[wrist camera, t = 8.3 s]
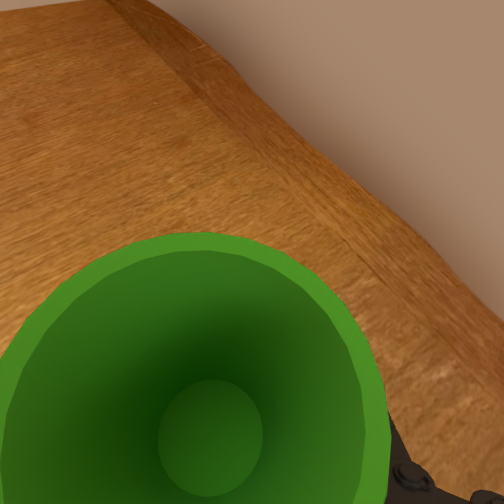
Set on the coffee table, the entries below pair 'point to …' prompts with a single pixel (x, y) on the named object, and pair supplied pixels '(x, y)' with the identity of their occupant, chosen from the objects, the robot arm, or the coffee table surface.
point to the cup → (192, 384)
